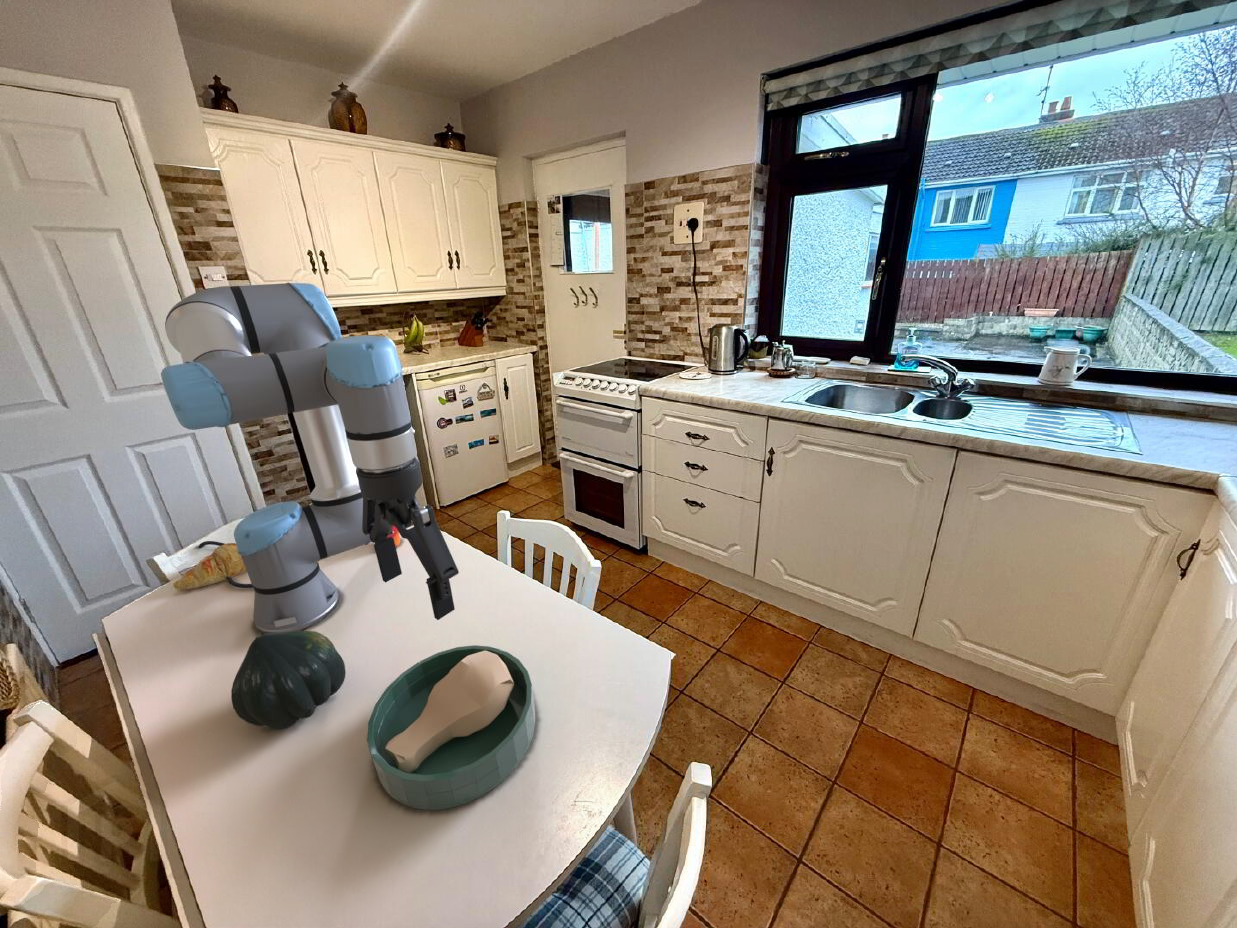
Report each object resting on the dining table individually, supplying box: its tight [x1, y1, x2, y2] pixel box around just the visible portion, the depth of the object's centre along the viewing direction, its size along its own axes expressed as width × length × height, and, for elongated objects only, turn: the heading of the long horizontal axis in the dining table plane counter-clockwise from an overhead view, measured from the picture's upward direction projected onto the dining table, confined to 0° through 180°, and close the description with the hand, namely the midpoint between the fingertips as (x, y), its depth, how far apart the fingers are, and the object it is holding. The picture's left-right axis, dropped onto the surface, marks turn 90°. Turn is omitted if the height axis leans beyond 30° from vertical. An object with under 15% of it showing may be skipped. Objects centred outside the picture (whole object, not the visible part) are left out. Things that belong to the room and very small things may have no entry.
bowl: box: [366, 644, 536, 811], centre depth 74 cm, size 24×24×6 cm
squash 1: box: [230, 630, 347, 731], centre depth 79 cm, size 14×15×15 cm
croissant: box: [172, 542, 247, 591], centre depth 116 cm, size 21×10×8 cm, turn 148°
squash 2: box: [385, 651, 514, 774], centre depth 74 cm, size 11×20×9 cm, turn 140°
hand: (417, 594), depth 71 cm, fingers open, 13 cm apart
